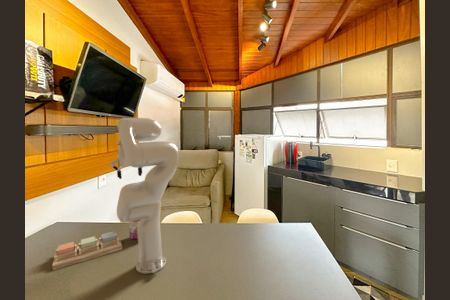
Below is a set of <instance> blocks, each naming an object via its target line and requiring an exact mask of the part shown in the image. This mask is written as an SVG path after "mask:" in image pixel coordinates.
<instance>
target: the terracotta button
mask: <svg viewBox="0 0 450 300" xmlns="http://www.w3.org/2000/svg"><path fill="white" fill-rule="evenodd" d="M74 245H75V242H74V241H72V242H71V241H70V242H66V243H64V244H63V243H62V244H60V245H59V244H58V246H57V249H58V255H61V254H65V253H69V252H72V251H74Z"/></svg>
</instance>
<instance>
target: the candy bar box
mask: <svg viewBox="0 0 450 300" xmlns="http://www.w3.org/2000/svg"><path fill="white" fill-rule="evenodd" d="M140 220H141V219H139V220H136V221H132V222H128V228H129V239H130V240H138V235H137V228H138V224H139V222H140Z"/></svg>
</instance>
